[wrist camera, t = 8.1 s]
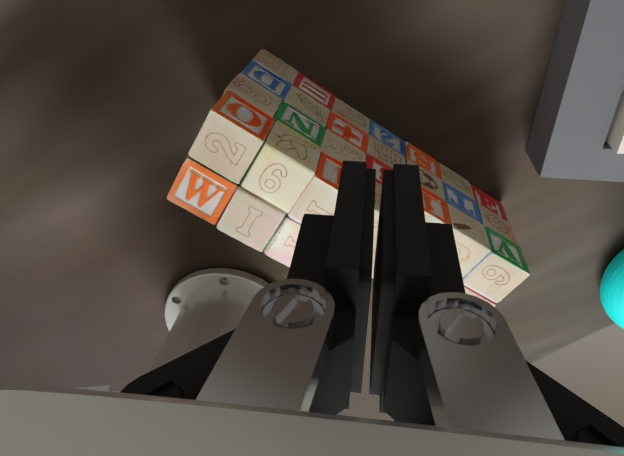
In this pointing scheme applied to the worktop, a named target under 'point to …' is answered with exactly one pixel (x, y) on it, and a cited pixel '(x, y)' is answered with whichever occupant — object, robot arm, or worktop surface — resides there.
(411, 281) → the robot arm
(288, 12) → the worktop surface
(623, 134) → the cream key
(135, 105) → the worktop surface
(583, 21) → the key panel
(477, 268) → the stack of blocks
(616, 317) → the donuts
